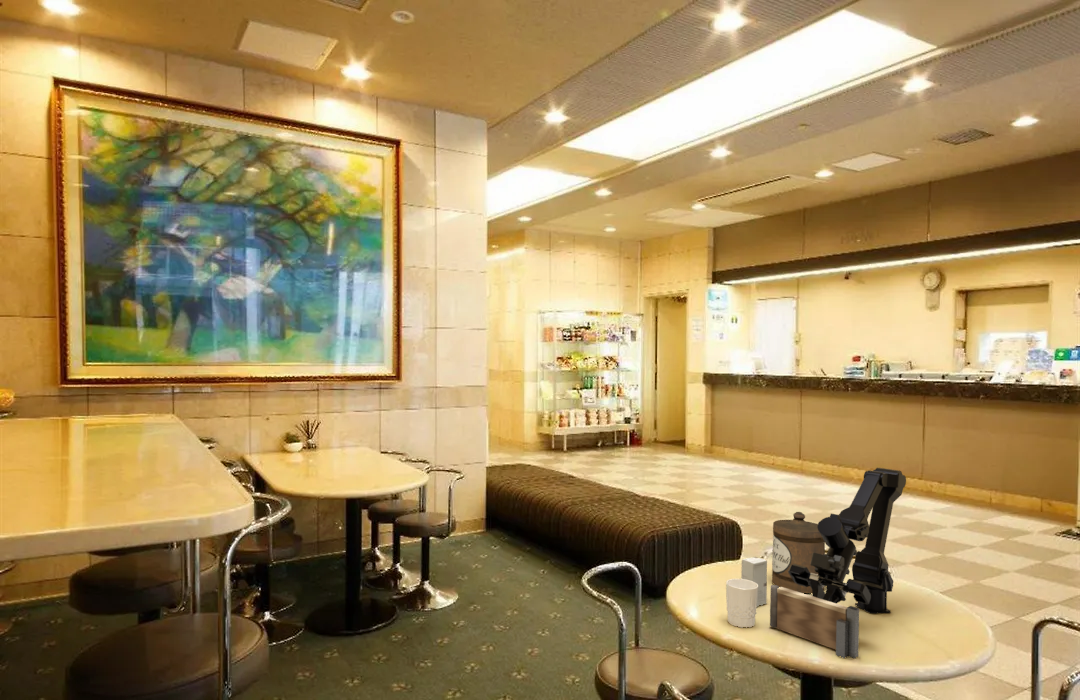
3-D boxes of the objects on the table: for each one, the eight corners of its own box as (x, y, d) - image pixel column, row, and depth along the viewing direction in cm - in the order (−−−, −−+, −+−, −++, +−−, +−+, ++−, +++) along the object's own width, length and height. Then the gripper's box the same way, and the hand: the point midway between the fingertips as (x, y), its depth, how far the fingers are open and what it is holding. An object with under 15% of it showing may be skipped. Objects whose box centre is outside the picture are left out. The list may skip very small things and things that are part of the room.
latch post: (835, 655, 151) (836, 607, 152) (843, 651, 154) (844, 603, 154) (851, 660, 149) (852, 612, 149) (858, 656, 151) (859, 608, 151)
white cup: (734, 614, 175) (735, 576, 175) (762, 623, 169) (763, 584, 169) (719, 622, 169) (720, 583, 169) (747, 631, 163) (748, 591, 164)
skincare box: (753, 608, 179) (753, 563, 179) (739, 602, 183) (740, 559, 183) (767, 604, 182) (768, 560, 183) (754, 598, 186) (755, 555, 186)
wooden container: (768, 575, 207) (770, 505, 207) (818, 579, 204) (820, 508, 204) (775, 591, 193) (777, 516, 193) (829, 596, 190) (831, 520, 190)
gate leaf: (768, 625, 166) (769, 586, 166) (772, 623, 168) (773, 584, 168) (844, 653, 152) (845, 609, 152) (848, 650, 153) (849, 607, 153)
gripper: (792, 532, 170) (769, 584, 163) (866, 549, 156) (844, 606, 149) (806, 557, 175) (784, 608, 168) (880, 575, 161) (859, 632, 154)
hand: (816, 613), depth 159 cm, fingers closed
